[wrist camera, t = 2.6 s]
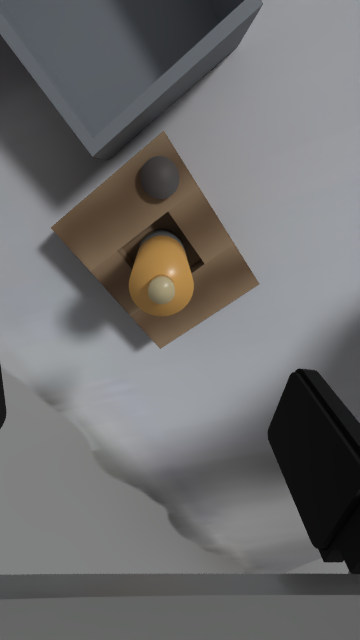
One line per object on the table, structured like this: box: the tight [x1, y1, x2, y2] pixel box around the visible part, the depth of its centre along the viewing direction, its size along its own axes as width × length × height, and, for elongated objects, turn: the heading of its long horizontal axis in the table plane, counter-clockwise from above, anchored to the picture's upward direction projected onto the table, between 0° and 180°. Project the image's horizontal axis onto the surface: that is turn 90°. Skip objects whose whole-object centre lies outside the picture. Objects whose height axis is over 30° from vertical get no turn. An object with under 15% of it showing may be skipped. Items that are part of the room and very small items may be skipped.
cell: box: [129, 228, 194, 316], centre depth 22 cm, size 4×4×10 cm
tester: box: [51, 131, 259, 349], centre depth 26 cm, size 14×11×4 cm
